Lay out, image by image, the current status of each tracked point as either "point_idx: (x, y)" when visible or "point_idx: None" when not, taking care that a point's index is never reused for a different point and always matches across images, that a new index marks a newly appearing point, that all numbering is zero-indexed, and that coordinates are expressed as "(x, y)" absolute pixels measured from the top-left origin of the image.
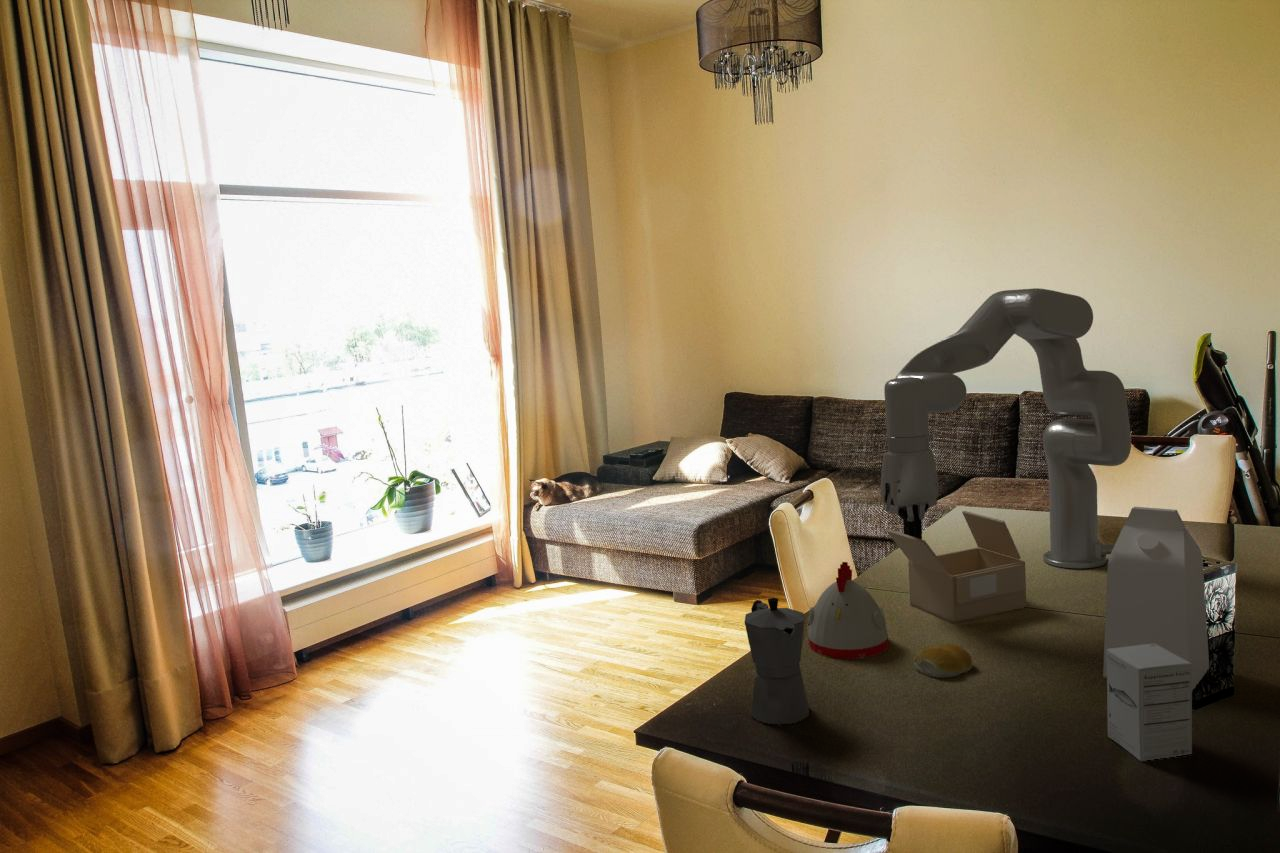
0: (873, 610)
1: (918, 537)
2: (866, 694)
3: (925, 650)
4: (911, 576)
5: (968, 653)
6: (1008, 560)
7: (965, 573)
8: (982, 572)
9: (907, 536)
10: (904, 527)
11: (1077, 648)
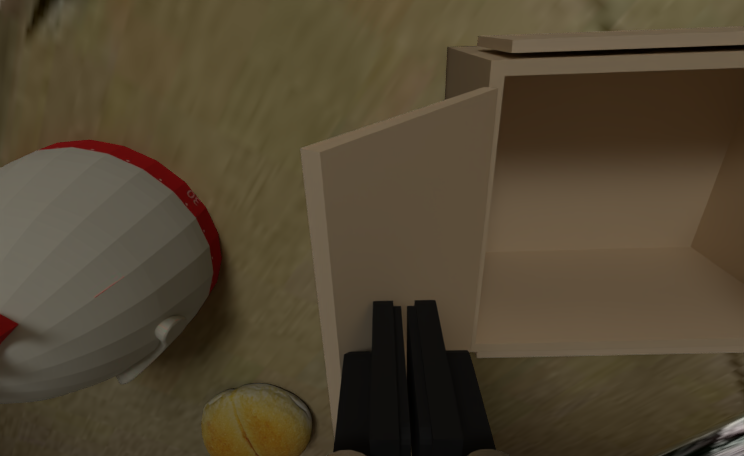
0: (115, 375)
1: (408, 403)
2: (84, 436)
3: (212, 448)
4: (470, 76)
5: (301, 452)
6: None
7: (533, 347)
8: (598, 353)
9: (333, 400)
10: (340, 411)
11: (528, 444)
